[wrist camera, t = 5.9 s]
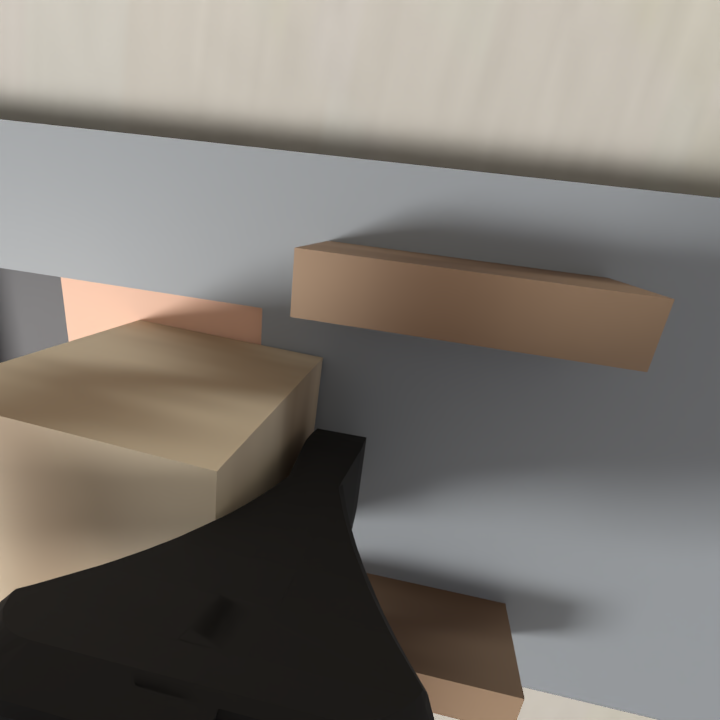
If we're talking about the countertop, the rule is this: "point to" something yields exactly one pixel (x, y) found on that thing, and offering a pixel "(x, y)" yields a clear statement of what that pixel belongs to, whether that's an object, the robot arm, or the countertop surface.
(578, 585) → the deck
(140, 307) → the tile
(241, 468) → the block
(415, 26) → the countertop surface
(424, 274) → the channel walls
